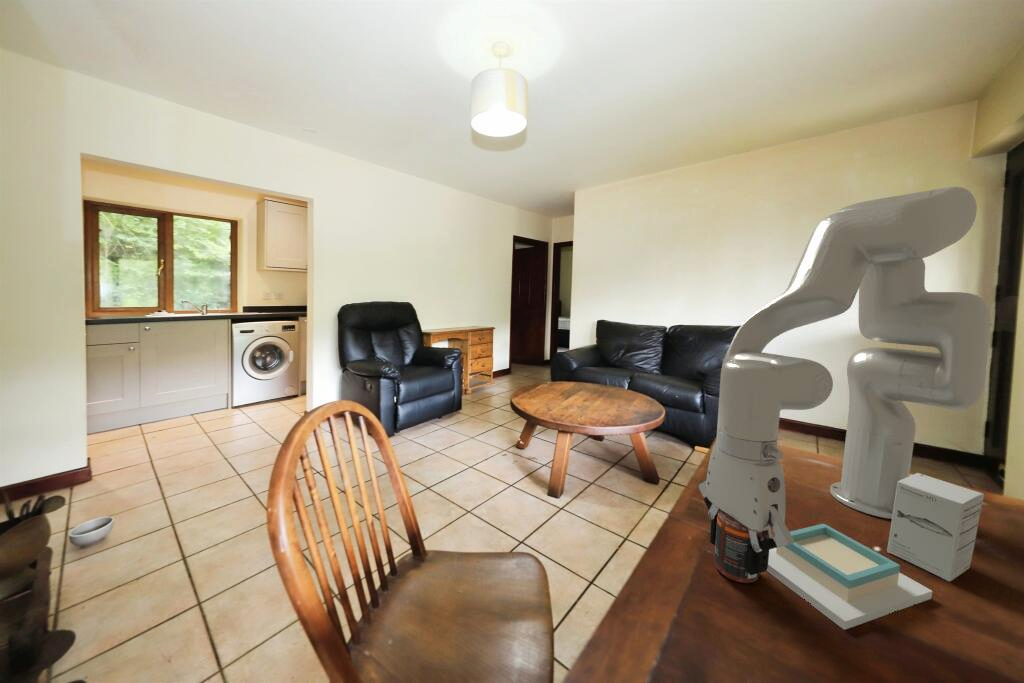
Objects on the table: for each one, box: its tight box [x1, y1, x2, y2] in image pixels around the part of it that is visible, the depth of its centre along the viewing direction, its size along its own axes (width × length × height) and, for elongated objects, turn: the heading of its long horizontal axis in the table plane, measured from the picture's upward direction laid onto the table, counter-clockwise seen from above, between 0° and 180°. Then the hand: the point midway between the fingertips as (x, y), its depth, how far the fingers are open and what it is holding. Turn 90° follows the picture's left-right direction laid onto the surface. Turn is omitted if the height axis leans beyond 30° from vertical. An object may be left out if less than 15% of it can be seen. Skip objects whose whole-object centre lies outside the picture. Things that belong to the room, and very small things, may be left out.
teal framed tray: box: [765, 523, 933, 631], centre depth 56 cm, size 17×14×4 cm
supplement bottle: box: [714, 509, 763, 584], centre depth 57 cm, size 6×6×11 cm
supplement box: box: [886, 472, 985, 583], centre depth 59 cm, size 7×7×13 cm
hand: (736, 555), depth 57 cm, fingers closed on supplement bottle, 5 cm apart
